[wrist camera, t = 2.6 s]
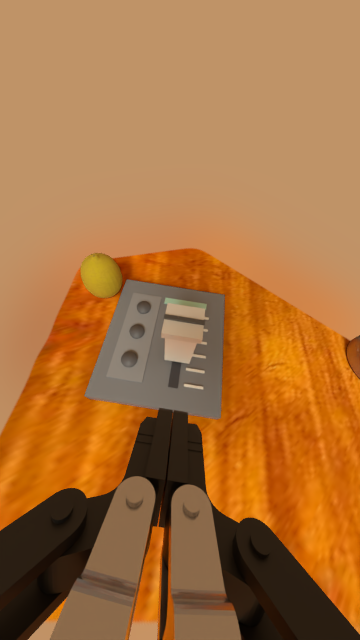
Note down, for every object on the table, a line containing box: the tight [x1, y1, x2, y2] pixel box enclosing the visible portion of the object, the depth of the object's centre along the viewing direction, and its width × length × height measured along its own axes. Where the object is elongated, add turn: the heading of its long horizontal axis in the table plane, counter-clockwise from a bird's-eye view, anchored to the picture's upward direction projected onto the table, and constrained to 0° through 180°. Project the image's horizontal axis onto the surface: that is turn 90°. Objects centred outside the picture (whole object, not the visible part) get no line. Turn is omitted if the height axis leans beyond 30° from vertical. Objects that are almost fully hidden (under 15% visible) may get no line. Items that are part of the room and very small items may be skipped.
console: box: [84, 279, 225, 419], centre depth 28 cm, size 16×18×3 cm
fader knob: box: [161, 303, 205, 364], centre depth 23 cm, size 4×3×8 cm
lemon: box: [81, 253, 122, 298], centre depth 30 cm, size 6×6×8 cm
